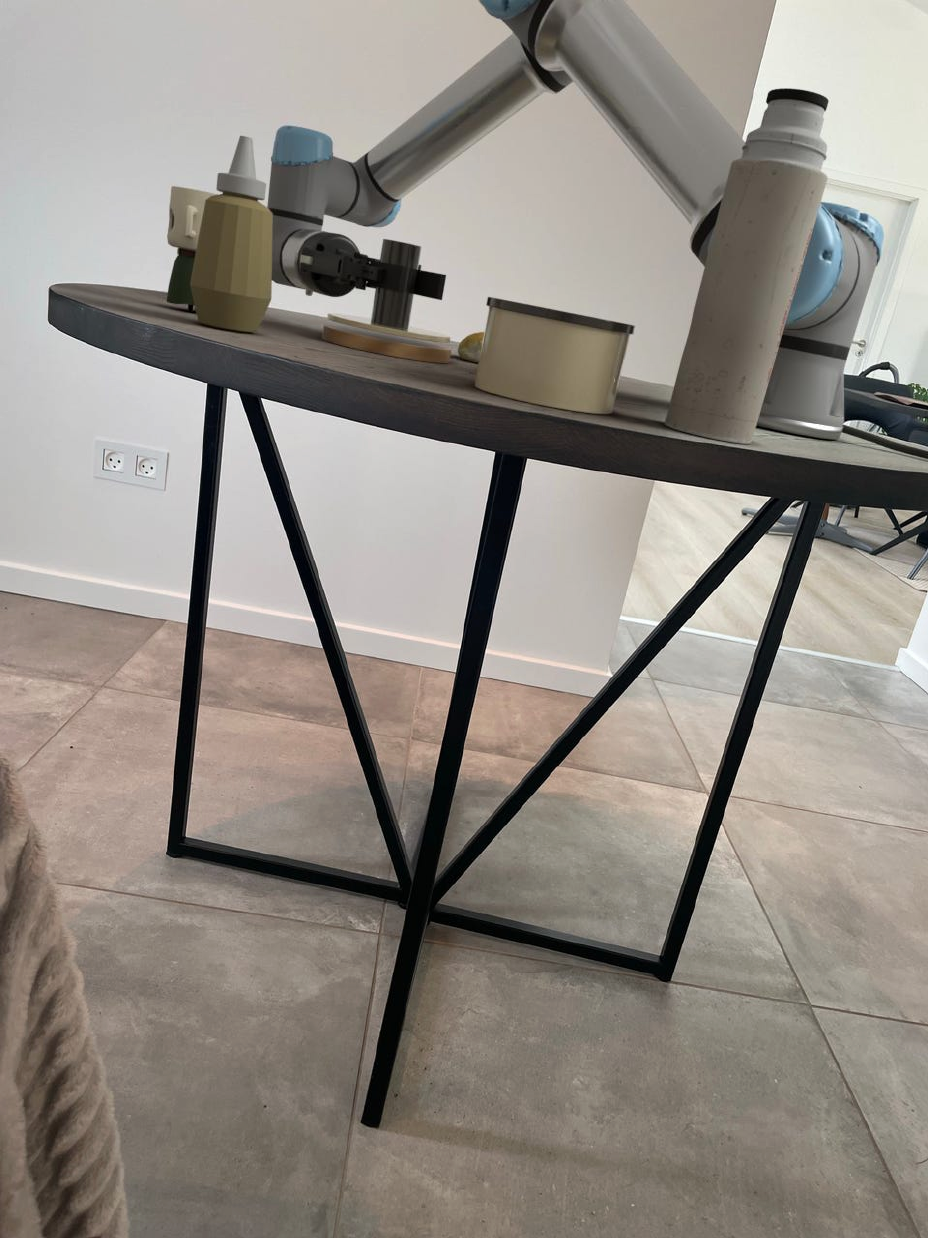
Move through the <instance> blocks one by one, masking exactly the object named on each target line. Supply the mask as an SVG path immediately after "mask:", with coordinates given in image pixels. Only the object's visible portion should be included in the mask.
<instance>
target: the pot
mask: <svg viewBox="0 0 928 1238" xmlns="http://www.w3.org/2000/svg"><path fill="white" fill-rule="evenodd" d="M485 306H486V307H488V309H487V315H486V322H485V326H484V331H483V332H484V337H483V342H482V347H481V353H480V358H479V363H477V368H476V369H477V370H476V376H475V381H474V387H475V388H476V389H479V390H481V391H483V392H487V393H490V394H492V395H496V396H499V397H503V398H507V399H510V400H511V399H512V400H515V401H520V402H523V403H527V404H532V405H537V406H541V407H548V408H553V409H558V410H564V411H570V412H576V413H584V414H591V415H592V414H593V415H611V414H612V413H613V411H614V406H615V401H616V397H617V393H618V388H619V385H620V381H621V377H622V371H623V368H624V364H625V359H626V355H627V351H628V347H629V342H630V338H631V336H632V335H635V331H636V327H637V326H636V325H635V324H628V323H624V322H621V321H615V320H609V319H604V318H600V317H599V318H598V317H594V316H589V315H584V314H580V313H573V312H568V311H563V310H558V309H554V308H548V307H544V306H540V305H539V306H538V305H533V304H529V303H524V302H519V301H512V300H509V299H503V298H497V297H493V296H487V298H486V302H485Z"/></svg>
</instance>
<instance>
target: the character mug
mask: <svg viewBox="0 0 928 1238" xmlns="http://www.w3.org/2000/svg"><path fill="white" fill-rule="evenodd" d="M214 195H219V194H217V193H214V192H209V191H205V190H200V189H194V188H188V187H184V186H177V185H176V186H175V185H172V186H171V188H170V198H169V205H168V207H169V208H168V209H169V210H168V211H169V213H168V214H169V215H168V216H169V218H168V229H167V235H166V240H167V244H168V245H169V246H171V247H172V248H177V249H176V257H175V259H174V262H173V265H172V268H171V275H170V278H169V282H168V288H167V294H166V299H165V302H167V303H168V304H172V305H187V312H190V313H192V312H194V310H195V311H196V309H195V304H194V300H193V295H192V291H191V286H190V282H191V276H192V271H193V265H194V260H195V255H196V249H197V244H198V238H199V233H200V228H201V222H202V217H203V211H204V206H205V200H206V199H208V198H209V197H211V196H214Z"/></svg>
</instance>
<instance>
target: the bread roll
mask: <svg viewBox="0 0 928 1238" xmlns="http://www.w3.org/2000/svg"><path fill="white" fill-rule="evenodd" d="M483 337H484V331H479V332H473V333H470V334H469V335H466V336H465V337H464V338H463V339H462V340H461V341H460V342H459V344H458V348H457V354H458V356H459V357H460V358H461V359H462V360H464V361H468V362H471V363H475V364H479V358H480V353H481V347H482V342H483Z"/></svg>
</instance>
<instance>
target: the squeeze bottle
mask: <svg viewBox="0 0 928 1238" xmlns="http://www.w3.org/2000/svg"><path fill="white" fill-rule="evenodd" d="M253 141H254V140H253V138H252V137H249V136H245V135H240V136H239V138H238V141H237V145H236V148H235V150H234V154H233V158H232V160H231V164H230V167H229V169H228V172H218V173H217V175H216V176H217V177H216V188H215V189H216V191H218V192H220V193H219V194H218V195H214V196H211V197H209V198H208V199H206V200H205V206H204V211H203V217H202V222H201V228H200V233H199V238H198V244H197V249H196V255H195V260H194V265H193V271H192V276H191V282H190V286H191V291H192V295H193V300H194V304H195V306H194V310H195V309H196V310H195V313H196V317H197V321H198V322H199V323H201V324H203V325H205V326H207V327H210V328H213V329H218V330H224V331H230V332H235V333H236V332H237V333H246V334H249V333H257V332H258V330H259V328H260V325H261V323H262V321H263V318H264V316H265V314H266V312H267V310H268V308H269V305H270V304H271V302H272V289H273V287H272V285H273V281H272V222H273V214H272V212H271V211H270V210H269V209H268V208H267V205H265V204H263V203H262V202H260V201H265V199H266V190H267V183H266V182H264V181H262V180H260V179H257V173H256V172H257V171H256V163H255V162H256V161H255V154H254V153H255V152H254V142H253Z"/></svg>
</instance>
